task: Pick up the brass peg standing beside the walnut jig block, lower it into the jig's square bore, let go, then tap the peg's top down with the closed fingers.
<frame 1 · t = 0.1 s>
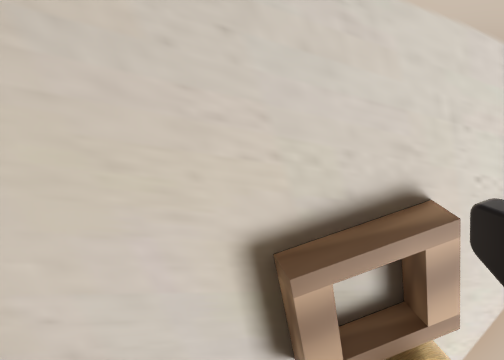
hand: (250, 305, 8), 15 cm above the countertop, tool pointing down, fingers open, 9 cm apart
peg: (409, 358, 33), on the countertop
jig: (361, 281, 29), on the countertop
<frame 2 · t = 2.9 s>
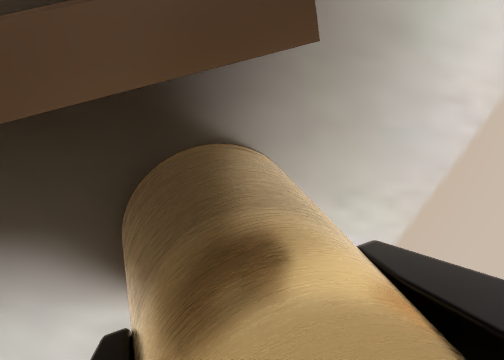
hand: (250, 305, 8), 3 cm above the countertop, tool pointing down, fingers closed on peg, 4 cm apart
peg: (213, 228, 11), on the countertop, touching gripper
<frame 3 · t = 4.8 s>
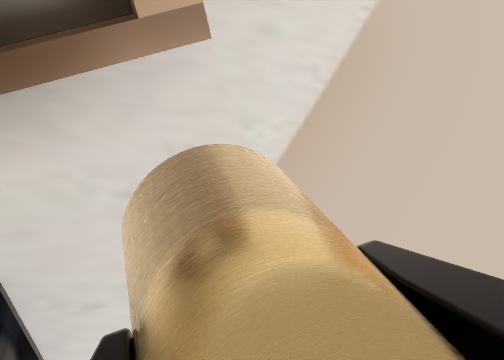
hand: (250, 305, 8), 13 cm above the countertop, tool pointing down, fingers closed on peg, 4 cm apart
peg: (214, 229, 11), point 10 cm above the countertop, touching gripper
when the fingers open (4 cm above the countertop, at t = 6.7 s): peg drops 1 cm, resting in jig.
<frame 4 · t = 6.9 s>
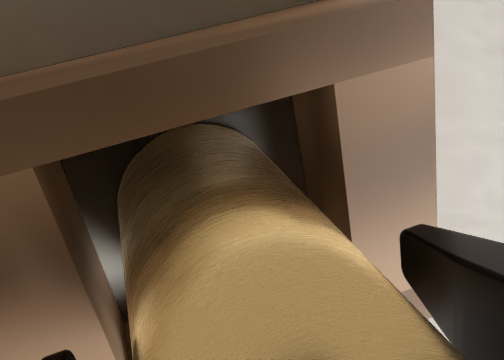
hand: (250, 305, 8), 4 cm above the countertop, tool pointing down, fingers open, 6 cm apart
peg: (199, 200, 12), resting in jig
jig: (201, 200, 12), on the countertop
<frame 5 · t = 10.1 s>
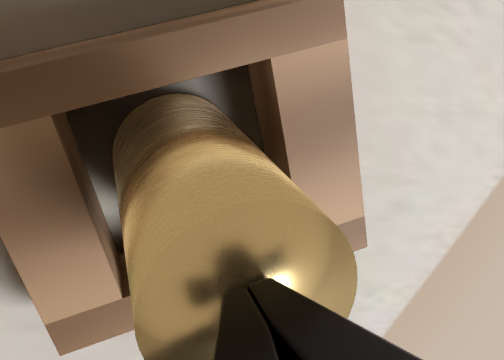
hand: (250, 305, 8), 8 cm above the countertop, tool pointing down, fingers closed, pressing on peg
peg: (177, 155, 15), resting in jig, touching gripper
jig: (178, 155, 15), on the countertop
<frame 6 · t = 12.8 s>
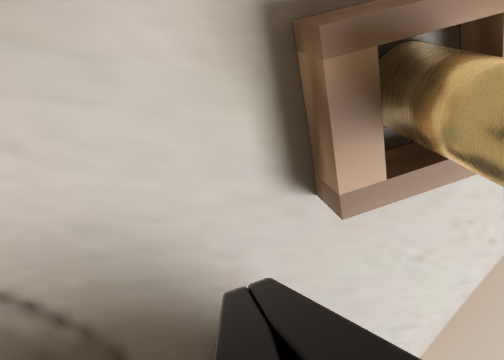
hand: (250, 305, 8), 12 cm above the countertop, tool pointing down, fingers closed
peg: (406, 86, 21), resting in jig
jig: (407, 86, 21), on the countertop
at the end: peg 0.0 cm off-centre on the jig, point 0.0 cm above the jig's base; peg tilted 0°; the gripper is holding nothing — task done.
